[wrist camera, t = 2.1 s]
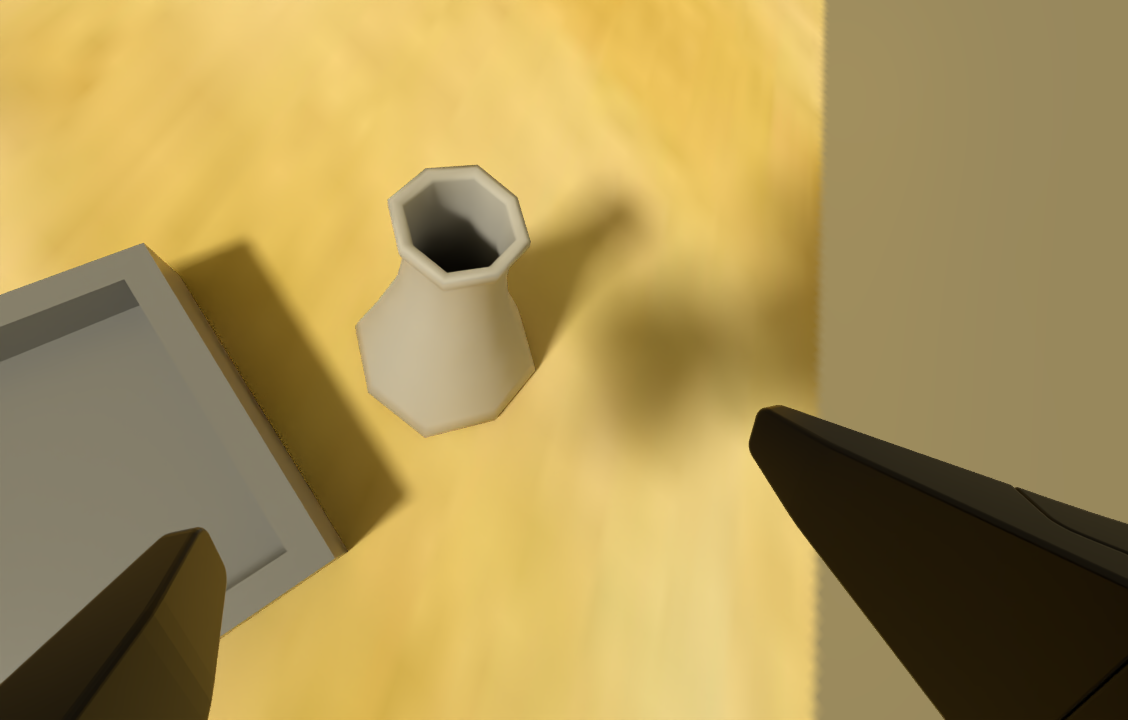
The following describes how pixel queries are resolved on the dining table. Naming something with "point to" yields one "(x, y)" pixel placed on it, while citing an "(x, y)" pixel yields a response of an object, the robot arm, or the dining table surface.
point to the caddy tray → (134, 451)
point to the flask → (449, 304)
